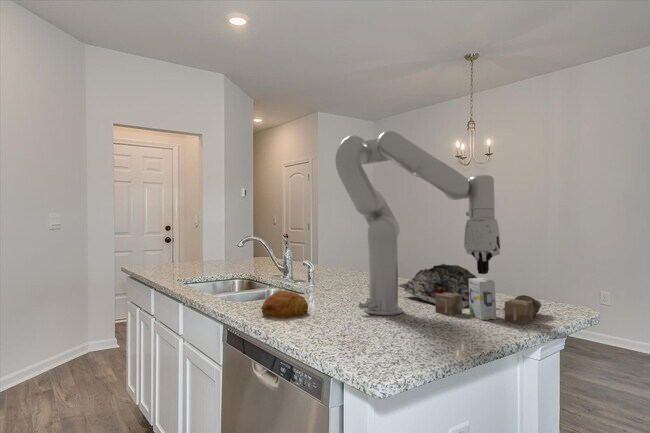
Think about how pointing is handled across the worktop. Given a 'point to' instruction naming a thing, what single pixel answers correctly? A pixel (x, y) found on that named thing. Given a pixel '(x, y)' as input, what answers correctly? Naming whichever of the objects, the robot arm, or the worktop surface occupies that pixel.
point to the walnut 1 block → (519, 311)
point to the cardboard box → (448, 303)
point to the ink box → (482, 298)
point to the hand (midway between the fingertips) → (483, 273)
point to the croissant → (284, 305)
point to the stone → (535, 303)
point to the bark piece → (440, 283)
